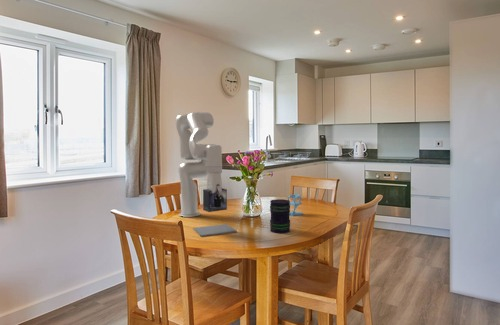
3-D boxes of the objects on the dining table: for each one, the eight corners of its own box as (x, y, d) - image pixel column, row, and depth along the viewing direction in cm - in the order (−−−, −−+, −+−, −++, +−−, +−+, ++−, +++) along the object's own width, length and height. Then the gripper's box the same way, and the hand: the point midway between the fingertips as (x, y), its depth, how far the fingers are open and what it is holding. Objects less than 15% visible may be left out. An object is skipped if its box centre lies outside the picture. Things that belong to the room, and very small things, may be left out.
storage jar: (272, 234, 173) (272, 203, 172) (267, 229, 183) (267, 199, 182) (292, 232, 175) (292, 202, 174) (286, 227, 185) (286, 198, 184)
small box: (209, 212, 174) (208, 190, 173) (202, 210, 179) (202, 189, 178) (227, 209, 180) (227, 188, 179) (220, 207, 185) (220, 187, 184)
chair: (284, 214, 215) (284, 194, 215) (293, 212, 221) (293, 193, 220) (294, 216, 210) (294, 196, 209) (303, 214, 215) (303, 194, 214)
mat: (193, 229, 183) (193, 227, 183) (226, 225, 190) (226, 224, 190) (201, 236, 170) (201, 235, 170) (236, 232, 177) (236, 230, 177)
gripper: (202, 169, 184) (202, 203, 186) (212, 171, 169) (213, 209, 170) (216, 168, 187) (216, 202, 189) (227, 171, 172) (228, 208, 173)
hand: (215, 205), depth 179 cm, fingers closed on small box, 7 cm apart
